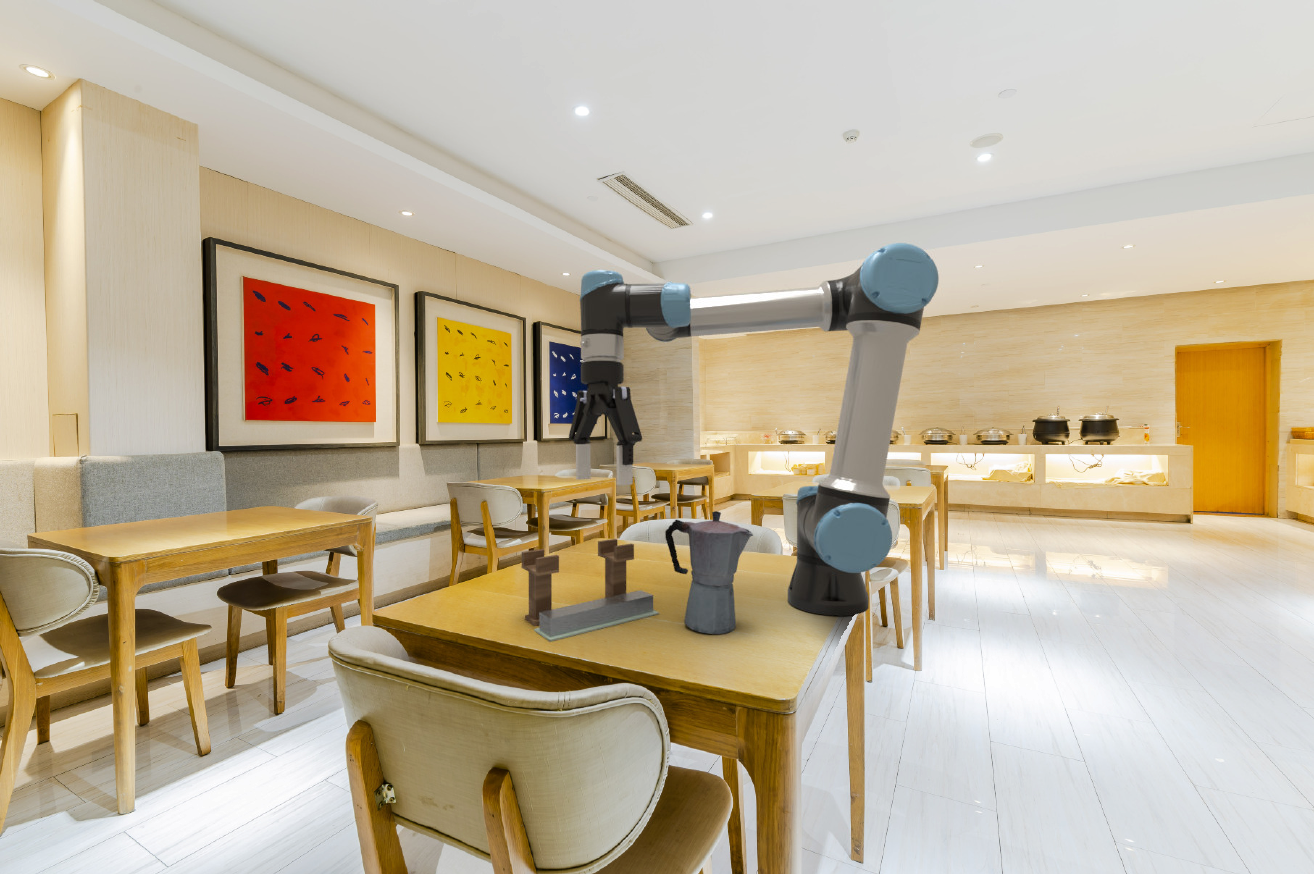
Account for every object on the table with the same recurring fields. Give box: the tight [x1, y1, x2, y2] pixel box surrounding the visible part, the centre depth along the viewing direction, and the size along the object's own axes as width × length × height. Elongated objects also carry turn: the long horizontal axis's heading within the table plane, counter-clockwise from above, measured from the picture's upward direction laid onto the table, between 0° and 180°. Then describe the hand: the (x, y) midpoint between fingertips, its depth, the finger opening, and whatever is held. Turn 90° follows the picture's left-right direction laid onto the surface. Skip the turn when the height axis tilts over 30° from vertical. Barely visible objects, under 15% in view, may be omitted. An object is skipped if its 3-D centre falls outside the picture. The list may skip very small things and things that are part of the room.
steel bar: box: [538, 589, 654, 637], centre depth 98 cm, size 4×21×3 cm, turn 128°
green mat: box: [533, 609, 660, 642], centre depth 98 cm, size 6×22×1 cm, turn 127°
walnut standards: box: [521, 538, 635, 627], centre depth 103 cm, size 7×20×12 cm, turn 127°
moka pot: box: [664, 510, 754, 635], centre depth 95 cm, size 10×15×20 cm, turn 79°
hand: (602, 481), depth 98 cm, fingers open, 13 cm apart
